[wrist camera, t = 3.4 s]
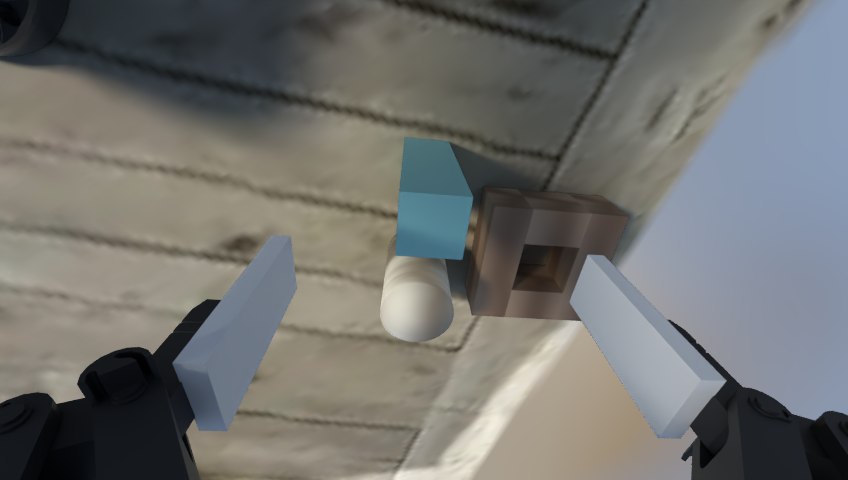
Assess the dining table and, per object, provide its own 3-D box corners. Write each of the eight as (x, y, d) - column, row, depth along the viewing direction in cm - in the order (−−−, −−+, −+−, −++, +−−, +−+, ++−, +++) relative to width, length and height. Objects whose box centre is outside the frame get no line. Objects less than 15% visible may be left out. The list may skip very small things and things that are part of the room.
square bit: (401, 179, 32) (395, 255, 19) (404, 137, 30) (399, 191, 17) (443, 183, 32) (462, 260, 20) (448, 141, 30) (473, 197, 18)
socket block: (464, 285, 38) (471, 315, 34) (483, 186, 32) (494, 206, 28) (565, 291, 39) (584, 321, 34) (600, 195, 33) (629, 216, 29)
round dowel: (387, 273, 37) (378, 340, 28) (389, 225, 34) (381, 283, 25) (440, 276, 37) (448, 343, 28) (446, 229, 34) (458, 287, 26)
